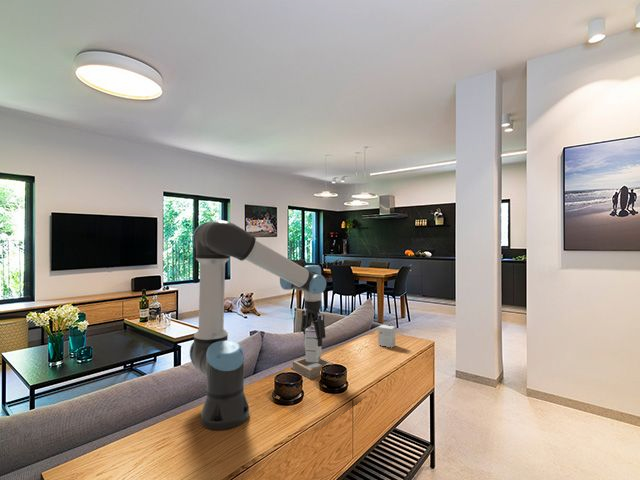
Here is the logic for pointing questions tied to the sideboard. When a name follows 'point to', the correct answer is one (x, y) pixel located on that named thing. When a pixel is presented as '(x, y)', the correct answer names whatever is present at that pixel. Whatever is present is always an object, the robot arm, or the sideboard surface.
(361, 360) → the sideboard surface
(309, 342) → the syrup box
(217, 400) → the robot arm
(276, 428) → the sideboard surface
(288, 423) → the sideboard surface
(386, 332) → the small box
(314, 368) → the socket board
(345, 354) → the sideboard surface
